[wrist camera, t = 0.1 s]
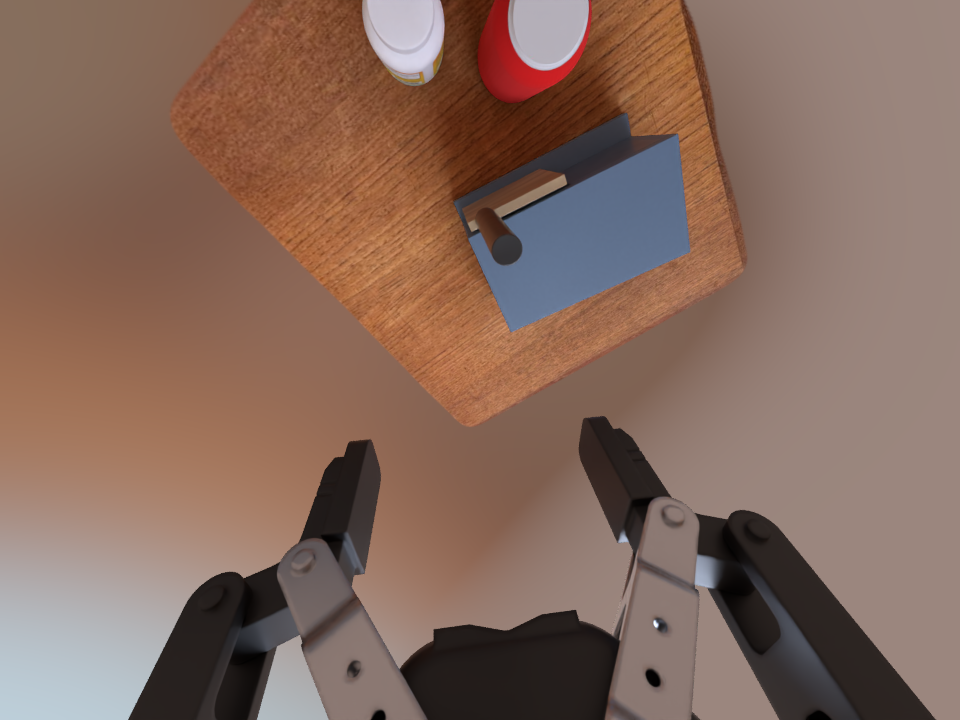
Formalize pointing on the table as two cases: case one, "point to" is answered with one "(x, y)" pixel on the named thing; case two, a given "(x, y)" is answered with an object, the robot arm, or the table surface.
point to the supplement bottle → (406, 37)
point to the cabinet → (588, 221)
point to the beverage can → (531, 45)
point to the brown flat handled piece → (503, 202)
